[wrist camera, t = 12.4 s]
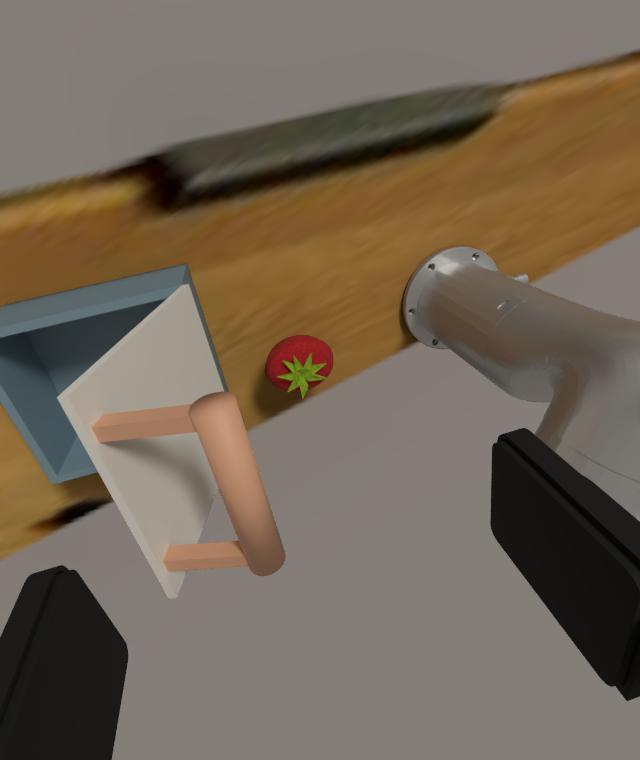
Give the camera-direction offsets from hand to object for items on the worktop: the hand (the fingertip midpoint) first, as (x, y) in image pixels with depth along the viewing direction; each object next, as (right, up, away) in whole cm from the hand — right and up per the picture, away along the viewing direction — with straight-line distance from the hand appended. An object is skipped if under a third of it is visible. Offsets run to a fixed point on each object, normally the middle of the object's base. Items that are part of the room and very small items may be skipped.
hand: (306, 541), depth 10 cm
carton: (-21, +6, +38) cm, 44 cm away
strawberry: (-3, +8, +42) cm, 43 cm away
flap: (-11, 0, +23) cm, 25 cm away
